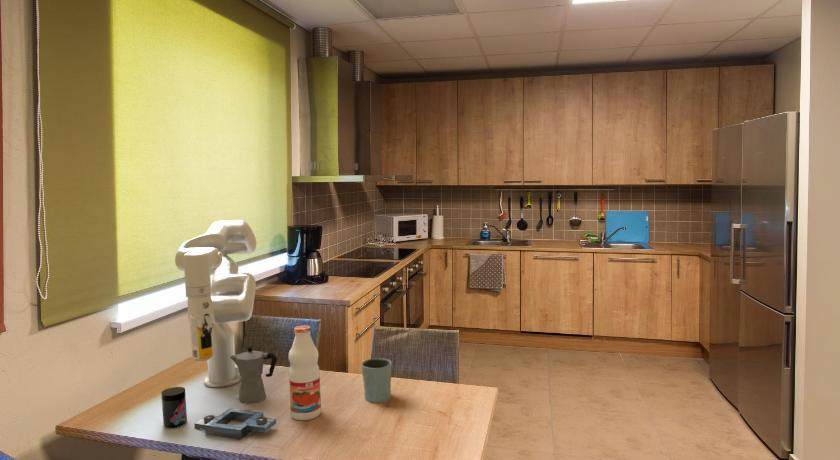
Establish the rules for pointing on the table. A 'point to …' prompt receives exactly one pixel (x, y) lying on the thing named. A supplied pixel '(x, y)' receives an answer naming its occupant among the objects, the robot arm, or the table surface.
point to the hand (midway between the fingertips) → (202, 345)
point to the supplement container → (174, 407)
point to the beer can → (198, 342)
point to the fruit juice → (304, 376)
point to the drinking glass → (377, 379)
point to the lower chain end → (208, 418)
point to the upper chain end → (252, 424)
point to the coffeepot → (252, 374)
